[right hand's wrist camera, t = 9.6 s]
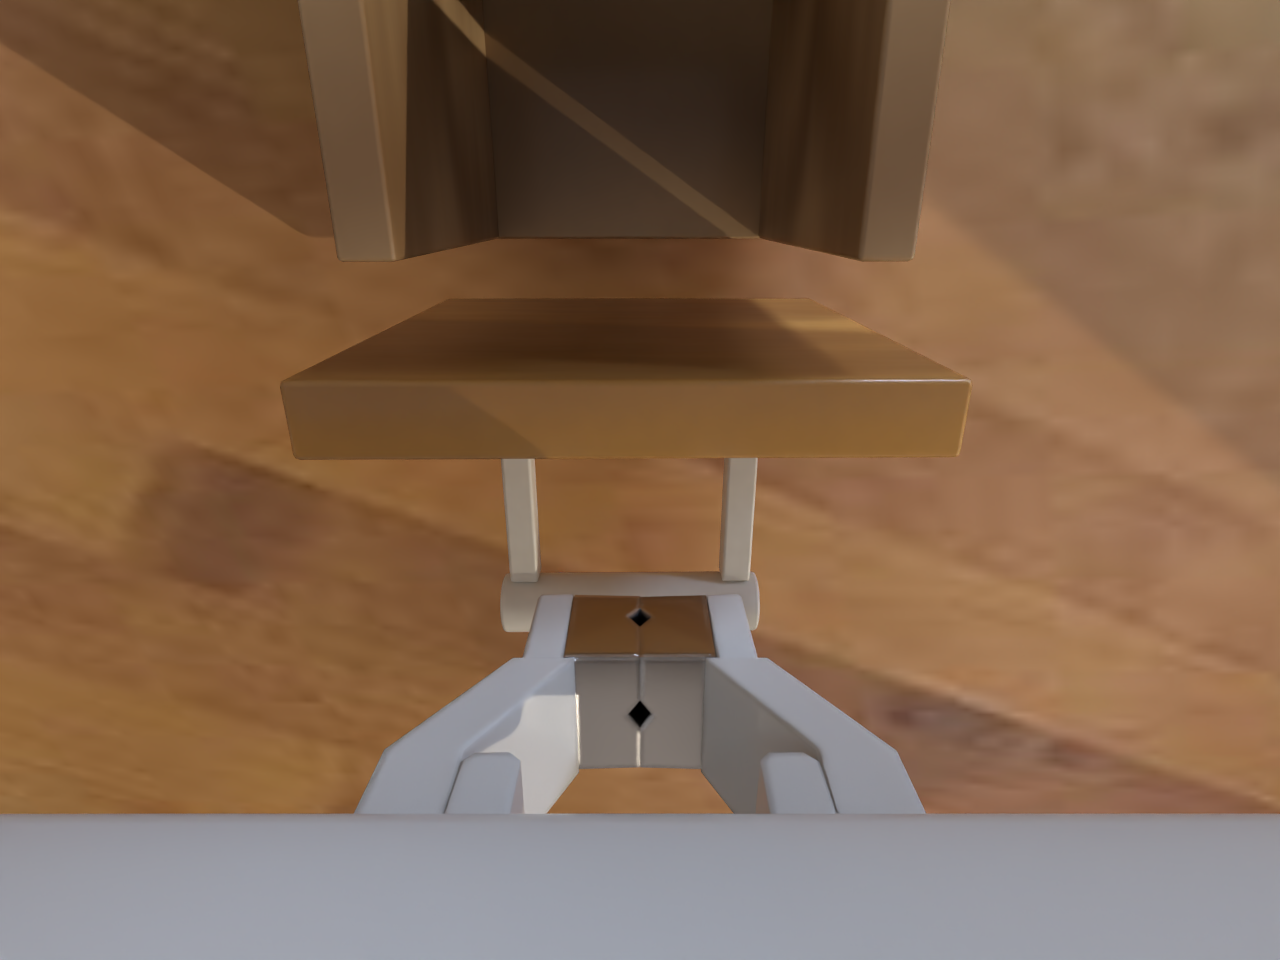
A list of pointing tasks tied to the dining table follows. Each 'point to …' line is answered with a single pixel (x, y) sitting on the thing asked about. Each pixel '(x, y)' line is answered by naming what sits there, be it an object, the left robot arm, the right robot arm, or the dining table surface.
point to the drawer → (625, 209)
